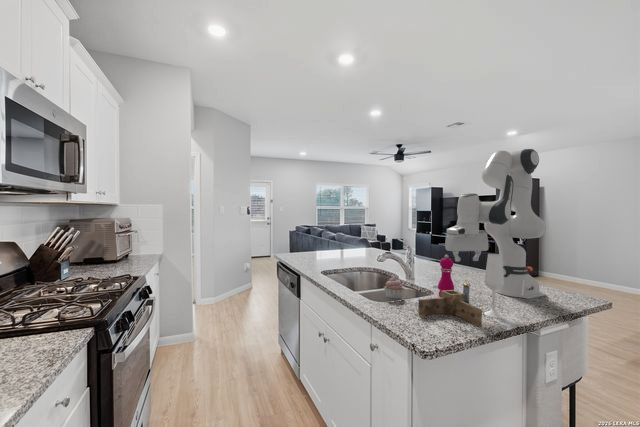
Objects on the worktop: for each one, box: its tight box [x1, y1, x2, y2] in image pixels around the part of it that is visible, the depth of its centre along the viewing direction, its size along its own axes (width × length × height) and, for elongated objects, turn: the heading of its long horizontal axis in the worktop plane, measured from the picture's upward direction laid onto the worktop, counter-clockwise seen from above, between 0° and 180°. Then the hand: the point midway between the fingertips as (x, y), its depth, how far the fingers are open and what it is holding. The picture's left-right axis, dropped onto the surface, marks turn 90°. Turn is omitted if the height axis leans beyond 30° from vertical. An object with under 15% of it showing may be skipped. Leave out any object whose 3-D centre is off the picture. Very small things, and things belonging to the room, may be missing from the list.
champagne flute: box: [483, 253, 504, 319], centre depth 116 cm, size 7×7×24 cm
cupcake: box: [383, 276, 405, 301], centre depth 136 cm, size 9×9×10 cm
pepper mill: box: [437, 254, 455, 298], centre depth 140 cm, size 7×7×20 cm
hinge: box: [417, 289, 483, 327], centre depth 111 cm, size 18×18×8 cm
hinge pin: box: [462, 283, 471, 304], centre depth 130 cm, size 3×3×8 cm
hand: (466, 261), depth 129 cm, fingers open, 8 cm apart
